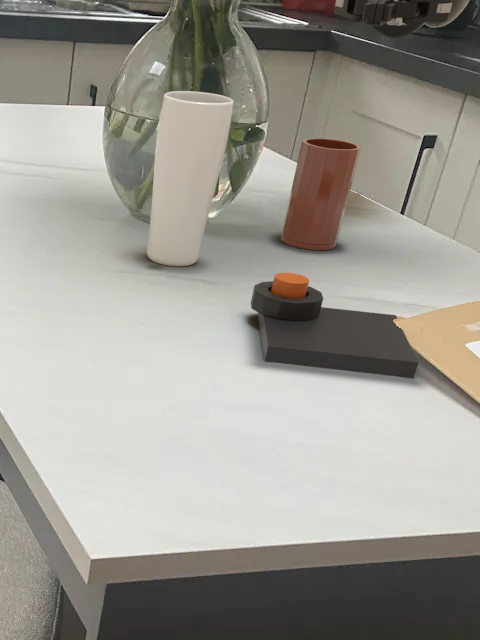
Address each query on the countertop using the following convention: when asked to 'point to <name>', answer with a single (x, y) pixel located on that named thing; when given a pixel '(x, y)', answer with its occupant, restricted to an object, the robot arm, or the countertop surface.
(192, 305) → the countertop surface
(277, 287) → the button
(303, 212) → the cup
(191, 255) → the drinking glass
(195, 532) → the countertop surface
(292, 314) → the scale
